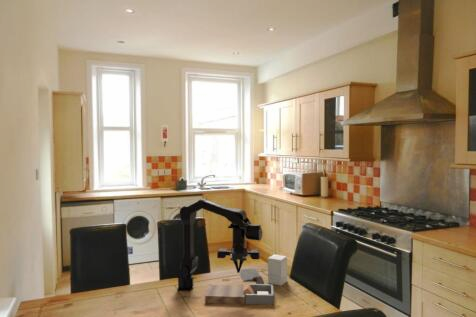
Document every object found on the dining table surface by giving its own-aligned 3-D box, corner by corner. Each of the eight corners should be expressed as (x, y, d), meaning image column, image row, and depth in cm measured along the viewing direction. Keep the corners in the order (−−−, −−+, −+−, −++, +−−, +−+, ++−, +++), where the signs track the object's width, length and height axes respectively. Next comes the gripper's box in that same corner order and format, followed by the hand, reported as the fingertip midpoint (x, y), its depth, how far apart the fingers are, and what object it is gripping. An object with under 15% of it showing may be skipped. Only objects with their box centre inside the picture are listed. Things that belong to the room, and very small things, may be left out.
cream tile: (268, 296, 157) (268, 301, 157) (268, 291, 162) (268, 296, 162) (257, 295, 157) (257, 301, 157) (257, 291, 162) (257, 296, 162)
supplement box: (287, 281, 179) (287, 256, 179) (281, 286, 173) (281, 260, 172) (274, 278, 183) (274, 253, 183) (267, 283, 177) (267, 257, 176)
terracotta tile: (243, 290, 158) (247, 288, 158) (243, 286, 163) (248, 283, 163) (249, 300, 158) (254, 297, 158) (250, 295, 163) (254, 292, 163)
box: (245, 303, 154) (245, 294, 154) (247, 292, 166) (246, 283, 166) (273, 304, 153) (273, 295, 153) (273, 292, 165) (273, 284, 165)
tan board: (205, 302, 156) (205, 295, 156) (209, 291, 168) (209, 284, 167) (244, 303, 154) (244, 297, 154) (245, 292, 166) (245, 285, 166)
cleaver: (268, 291, 168) (268, 286, 168) (248, 292, 166) (248, 288, 166) (255, 270, 197) (255, 266, 197) (237, 271, 195) (237, 267, 195)
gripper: (215, 242, 154) (215, 278, 155) (259, 244, 152) (258, 280, 153) (219, 235, 165) (218, 269, 166) (259, 237, 164) (259, 270, 164)
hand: (238, 272), depth 162 cm, fingers closed
